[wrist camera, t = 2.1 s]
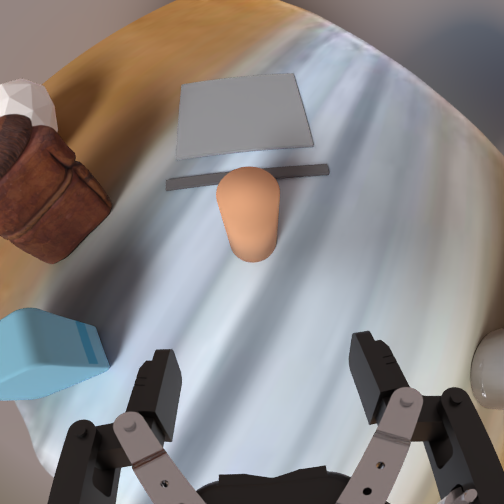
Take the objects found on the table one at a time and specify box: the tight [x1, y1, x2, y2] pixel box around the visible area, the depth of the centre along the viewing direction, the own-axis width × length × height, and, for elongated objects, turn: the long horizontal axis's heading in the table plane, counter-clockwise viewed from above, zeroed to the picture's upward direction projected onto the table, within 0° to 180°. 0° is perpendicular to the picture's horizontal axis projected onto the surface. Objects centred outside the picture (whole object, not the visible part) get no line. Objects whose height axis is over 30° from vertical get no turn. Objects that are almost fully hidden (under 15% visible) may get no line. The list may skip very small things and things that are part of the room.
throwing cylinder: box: [216, 167, 280, 262], centre depth 27 cm, size 5×5×9 cm
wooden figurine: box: [0, 114, 112, 264], centre depth 24 cm, size 12×6×18 cm, turn 135°
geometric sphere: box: [0, 78, 58, 132], centre depth 31 cm, size 14×15×15 cm
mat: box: [166, 73, 329, 191], centre depth 36 cm, size 18×18×1 cm
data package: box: [0, 308, 110, 400], centre depth 21 cm, size 12×4×12 cm, turn 117°
